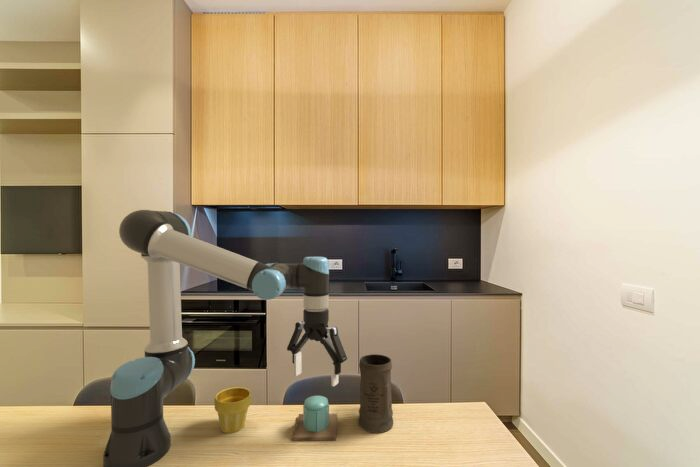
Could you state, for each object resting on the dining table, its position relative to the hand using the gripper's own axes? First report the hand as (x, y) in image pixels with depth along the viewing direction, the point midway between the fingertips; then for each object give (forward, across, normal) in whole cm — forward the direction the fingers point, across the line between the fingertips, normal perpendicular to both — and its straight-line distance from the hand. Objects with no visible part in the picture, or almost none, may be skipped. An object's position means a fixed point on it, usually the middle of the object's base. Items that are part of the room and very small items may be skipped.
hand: (315, 379), depth 102 cm
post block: (+14, -1, +1) cm, 14 cm away
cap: (+13, -1, 0) cm, 13 cm away
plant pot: (+15, +22, +12) cm, 29 cm away
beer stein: (+14, -14, -13) cm, 24 cm away
